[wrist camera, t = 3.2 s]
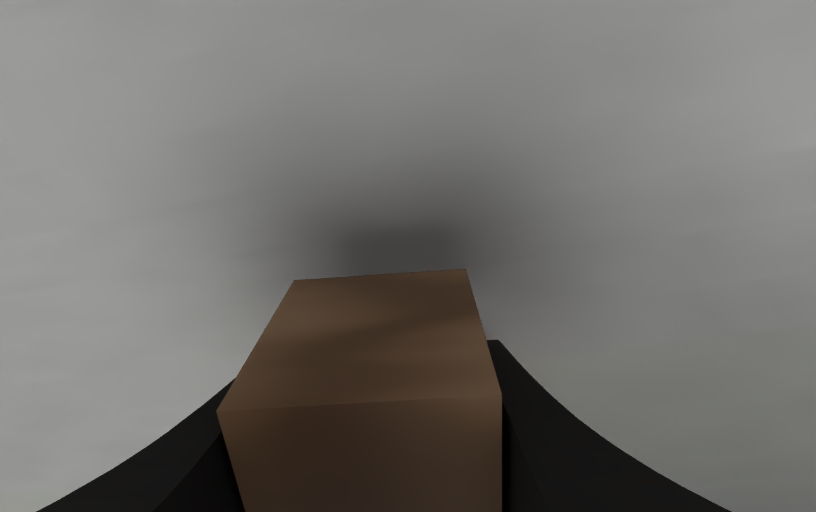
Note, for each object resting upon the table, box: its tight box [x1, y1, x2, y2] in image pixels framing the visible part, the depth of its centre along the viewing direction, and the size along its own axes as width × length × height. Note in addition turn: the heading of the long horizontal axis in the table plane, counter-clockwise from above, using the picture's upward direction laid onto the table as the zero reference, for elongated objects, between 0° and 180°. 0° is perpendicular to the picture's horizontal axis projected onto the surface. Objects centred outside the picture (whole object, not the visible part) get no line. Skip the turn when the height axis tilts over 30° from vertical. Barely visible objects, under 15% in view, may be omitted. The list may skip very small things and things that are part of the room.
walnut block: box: [216, 269, 502, 512], centre depth 10 cm, size 4×4×5 cm
